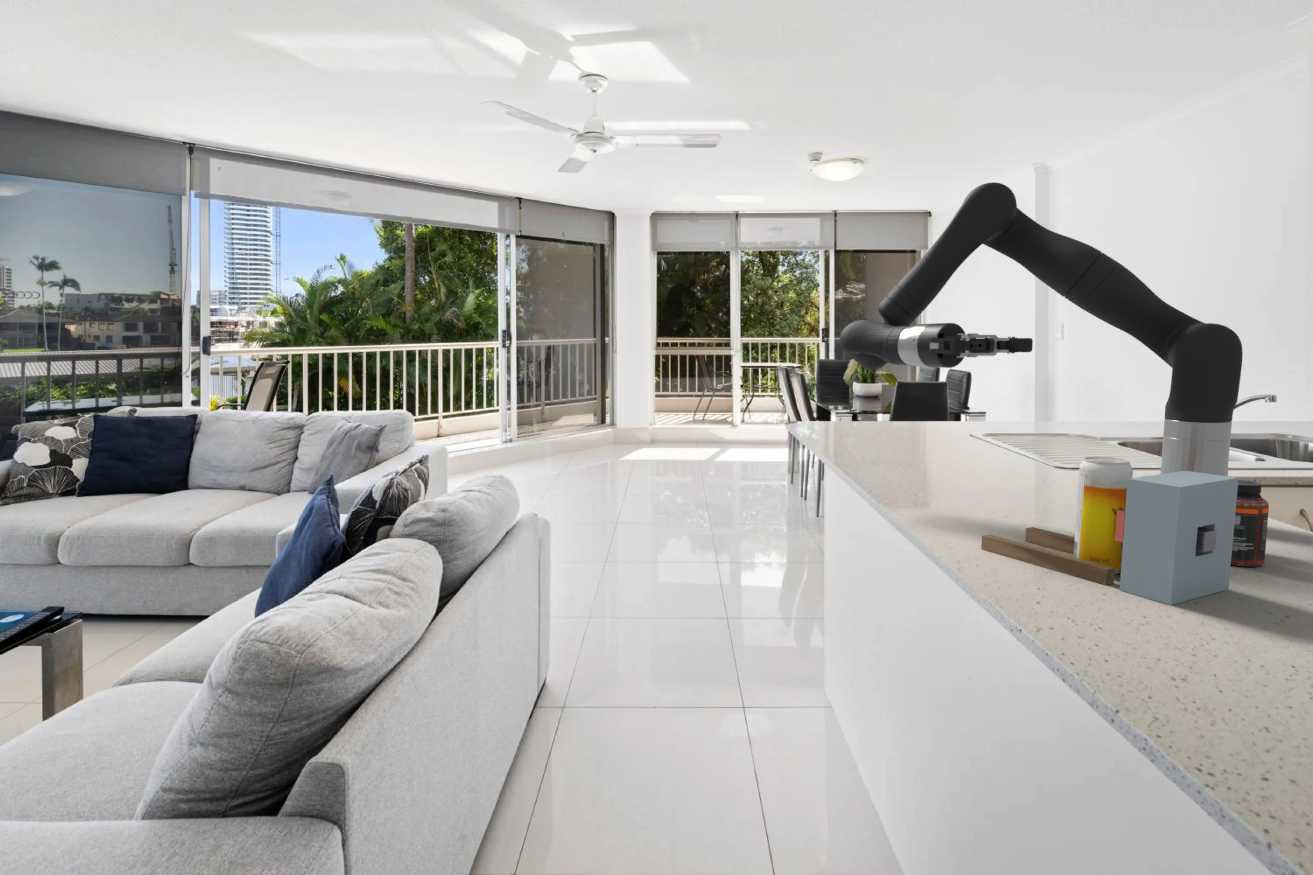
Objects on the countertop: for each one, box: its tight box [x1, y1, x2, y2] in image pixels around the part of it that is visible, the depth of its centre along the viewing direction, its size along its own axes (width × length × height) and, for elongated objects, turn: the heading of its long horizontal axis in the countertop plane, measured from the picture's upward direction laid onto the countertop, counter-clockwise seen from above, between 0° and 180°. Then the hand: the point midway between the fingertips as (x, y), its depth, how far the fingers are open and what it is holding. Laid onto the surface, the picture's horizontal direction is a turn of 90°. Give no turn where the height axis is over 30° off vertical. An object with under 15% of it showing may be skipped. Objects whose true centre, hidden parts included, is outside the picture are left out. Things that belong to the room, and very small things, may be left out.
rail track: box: [980, 526, 1116, 586], centre depth 106 cm, size 11×19×2 cm, turn 26°
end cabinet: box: [1119, 471, 1240, 606], centre depth 92 cm, size 12×6×14 cm, turn 116°
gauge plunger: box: [1115, 509, 1217, 552], centre depth 93 cm, size 4×10×4 cm, turn 26°
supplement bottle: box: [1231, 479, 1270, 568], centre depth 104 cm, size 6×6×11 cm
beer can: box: [1072, 456, 1134, 576], centre depth 101 cm, size 6×6×15 cm
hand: (1012, 345), depth 116 cm, fingers open, 8 cm apart
